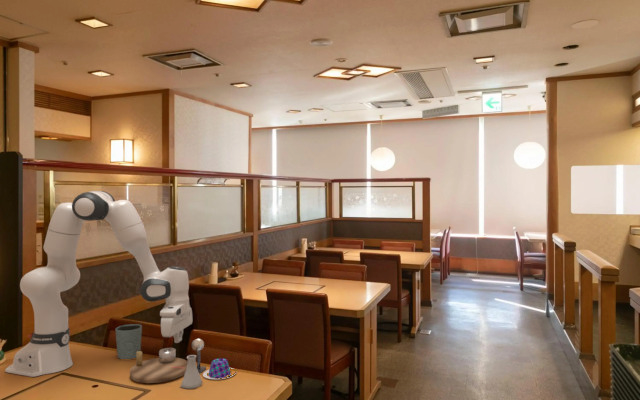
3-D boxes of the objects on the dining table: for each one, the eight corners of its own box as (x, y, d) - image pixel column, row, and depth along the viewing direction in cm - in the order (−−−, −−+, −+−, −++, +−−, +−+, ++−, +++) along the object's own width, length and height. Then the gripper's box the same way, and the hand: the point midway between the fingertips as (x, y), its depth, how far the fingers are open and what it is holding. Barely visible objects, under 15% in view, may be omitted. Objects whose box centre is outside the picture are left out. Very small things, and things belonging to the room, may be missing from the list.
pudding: (219, 366, 172) (219, 353, 172) (243, 372, 166) (243, 358, 166) (195, 377, 162) (195, 362, 162) (220, 384, 155) (220, 369, 155)
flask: (196, 390, 149) (196, 360, 149) (176, 388, 151) (176, 359, 151) (205, 382, 156) (206, 353, 156) (187, 380, 158) (187, 352, 158)
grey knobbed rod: (190, 372, 165) (190, 339, 165) (195, 368, 169) (195, 336, 169) (202, 373, 165) (202, 340, 165) (206, 369, 169) (206, 336, 169)
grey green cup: (129, 361, 176) (129, 331, 176) (109, 359, 179) (109, 329, 180) (147, 353, 186) (147, 325, 186) (127, 351, 189) (127, 322, 189)
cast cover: (156, 363, 167) (156, 351, 167) (163, 357, 173) (163, 346, 173) (171, 364, 166) (171, 352, 166) (178, 358, 172) (178, 346, 172)
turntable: (118, 381, 155) (118, 361, 155) (148, 361, 175) (148, 343, 175) (172, 384, 152) (172, 364, 153) (196, 363, 172) (196, 345, 172)
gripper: (181, 301, 188) (182, 334, 188) (157, 313, 168) (158, 349, 168) (196, 301, 187) (196, 334, 187) (173, 313, 167) (173, 350, 167)
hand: (178, 341), depth 178 cm, fingers closed
